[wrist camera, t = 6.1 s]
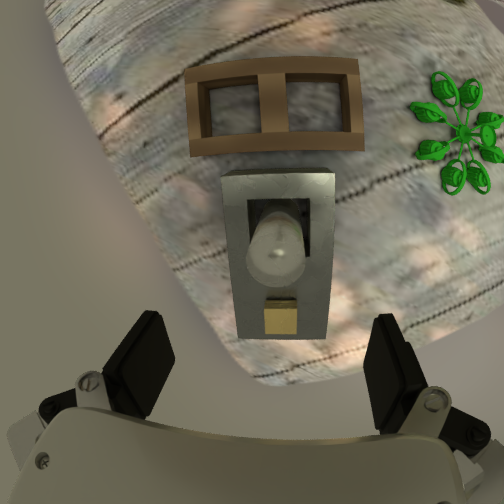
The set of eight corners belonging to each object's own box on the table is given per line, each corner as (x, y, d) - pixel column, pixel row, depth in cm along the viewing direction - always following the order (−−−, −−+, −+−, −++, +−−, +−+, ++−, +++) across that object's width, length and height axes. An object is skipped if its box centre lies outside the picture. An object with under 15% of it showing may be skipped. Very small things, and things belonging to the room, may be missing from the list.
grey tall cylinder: (261, 196, 29) (243, 233, 18) (299, 195, 28) (305, 232, 17) (263, 232, 30) (248, 287, 19) (299, 231, 30) (305, 287, 19)
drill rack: (197, 77, 24) (184, 69, 21) (349, 69, 22) (357, 59, 18) (203, 154, 28) (190, 157, 24) (354, 149, 25) (364, 151, 22)
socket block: (231, 170, 28) (220, 176, 23) (327, 167, 26) (334, 173, 22) (244, 313, 35) (238, 338, 30) (322, 313, 33) (325, 339, 29)
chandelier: (388, 167, 26) (415, 176, 19) (413, 51, 19) (441, 35, 13) (478, 211, 25) (509, 228, 19) (500, 110, 19) (533, 111, 13)
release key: (269, 277, 32) (264, 308, 26) (296, 277, 31) (297, 308, 25) (270, 300, 33) (265, 333, 27) (296, 300, 33) (296, 334, 27)
